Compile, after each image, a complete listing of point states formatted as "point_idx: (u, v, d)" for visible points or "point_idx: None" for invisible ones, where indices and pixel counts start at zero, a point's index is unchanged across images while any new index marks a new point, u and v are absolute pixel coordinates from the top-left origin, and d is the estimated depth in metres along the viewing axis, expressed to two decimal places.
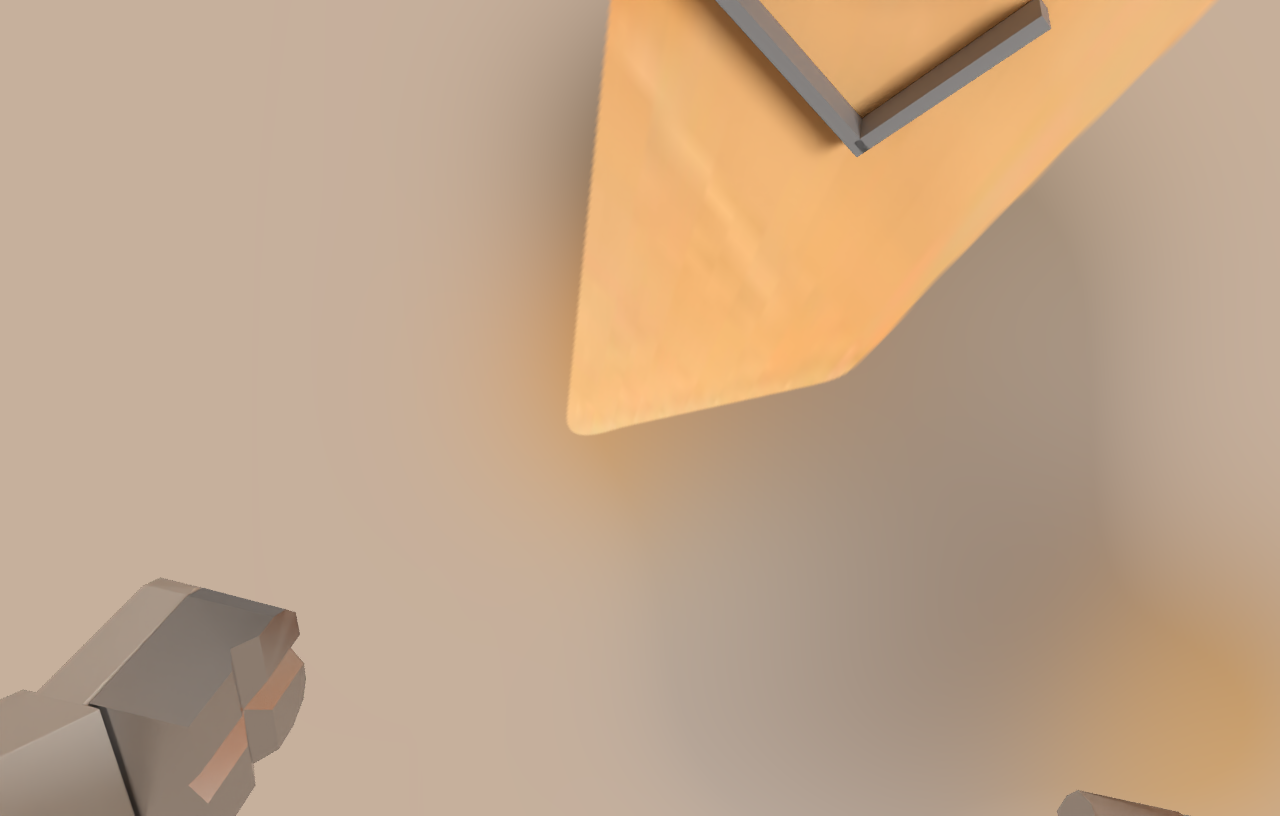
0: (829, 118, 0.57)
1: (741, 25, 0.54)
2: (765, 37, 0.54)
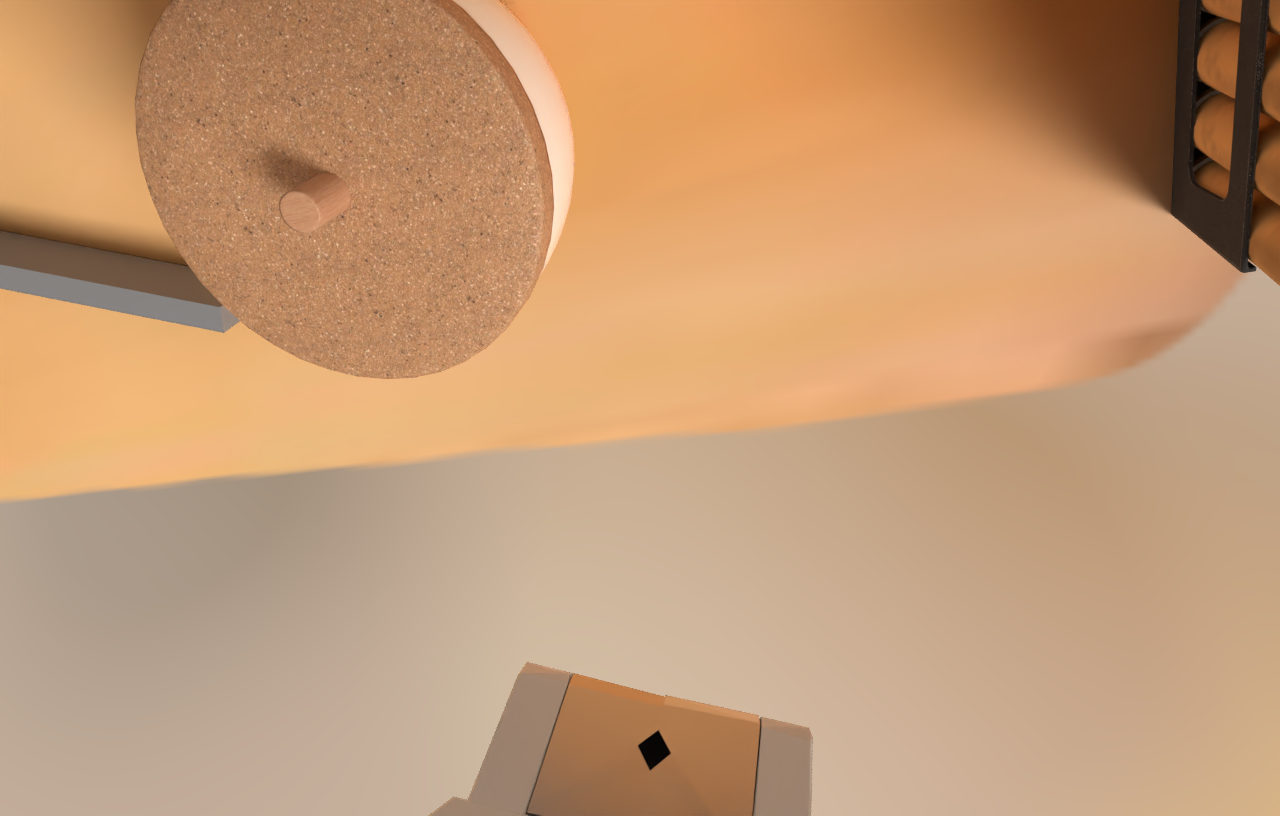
0: None
1: None
2: None
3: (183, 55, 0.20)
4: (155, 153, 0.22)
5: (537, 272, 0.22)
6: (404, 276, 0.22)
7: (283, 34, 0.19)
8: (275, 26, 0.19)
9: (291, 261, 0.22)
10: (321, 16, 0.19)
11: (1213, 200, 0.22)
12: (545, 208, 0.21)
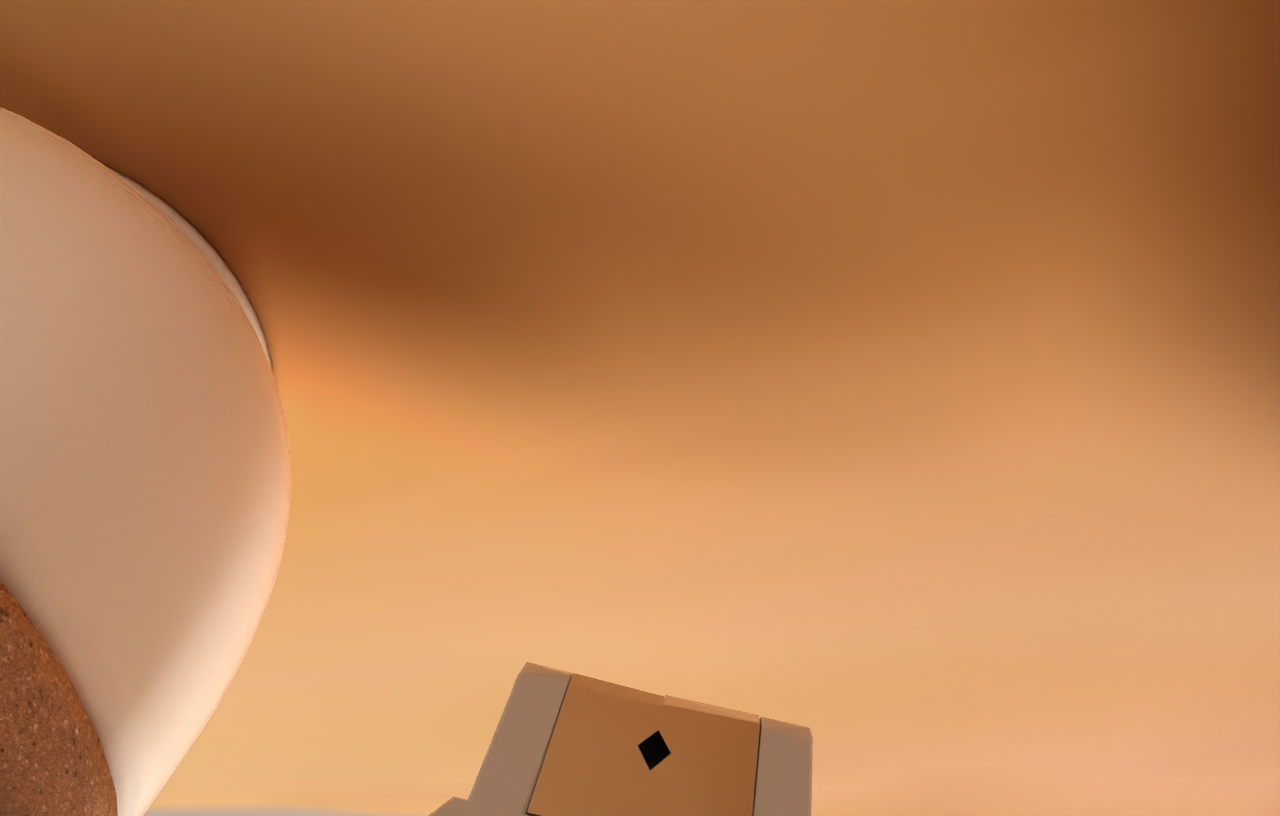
0: None
1: None
2: None
3: None
4: None
5: None
6: None
7: None
8: None
9: None
10: None
11: None
12: (29, 795, 0.07)
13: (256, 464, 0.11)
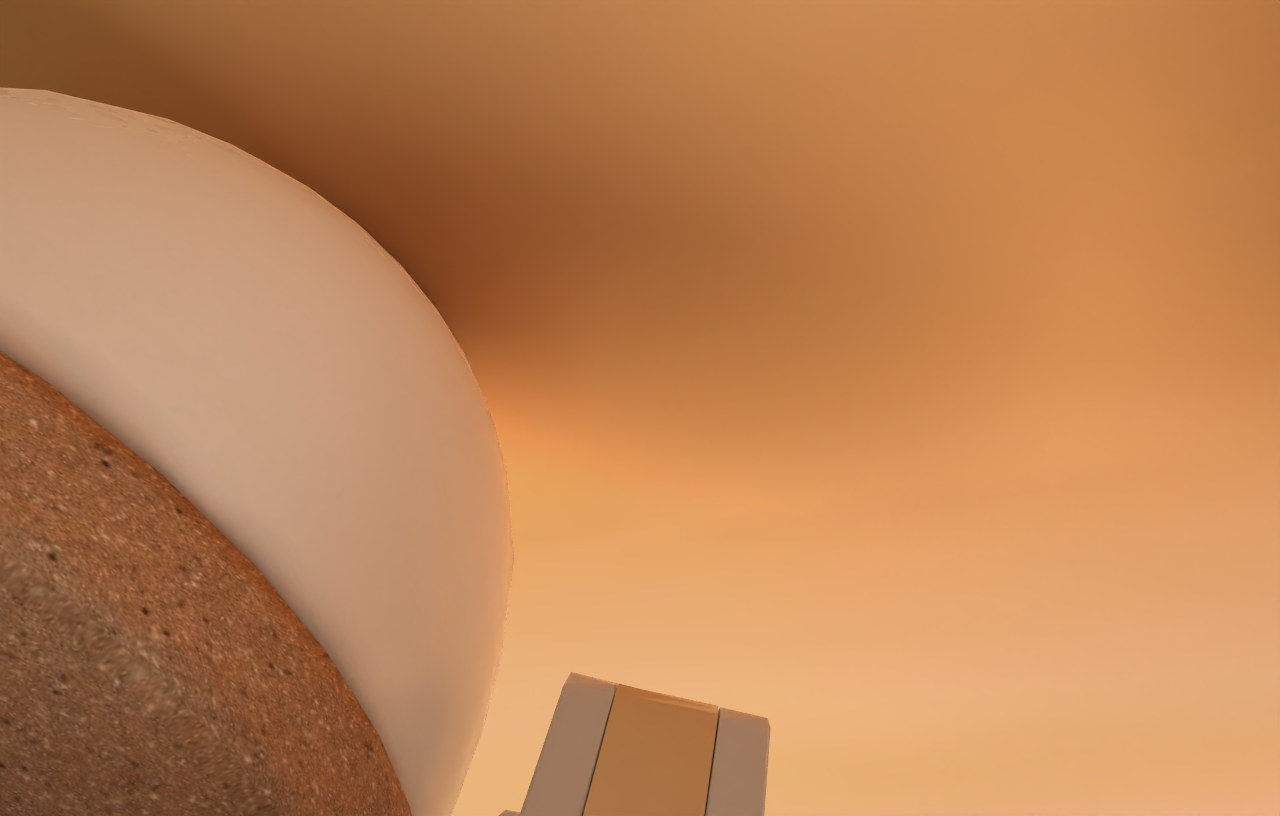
0: None
1: None
2: None
3: None
4: None
5: None
6: None
7: None
8: None
9: None
10: None
11: None
12: None
13: (507, 538, 0.10)
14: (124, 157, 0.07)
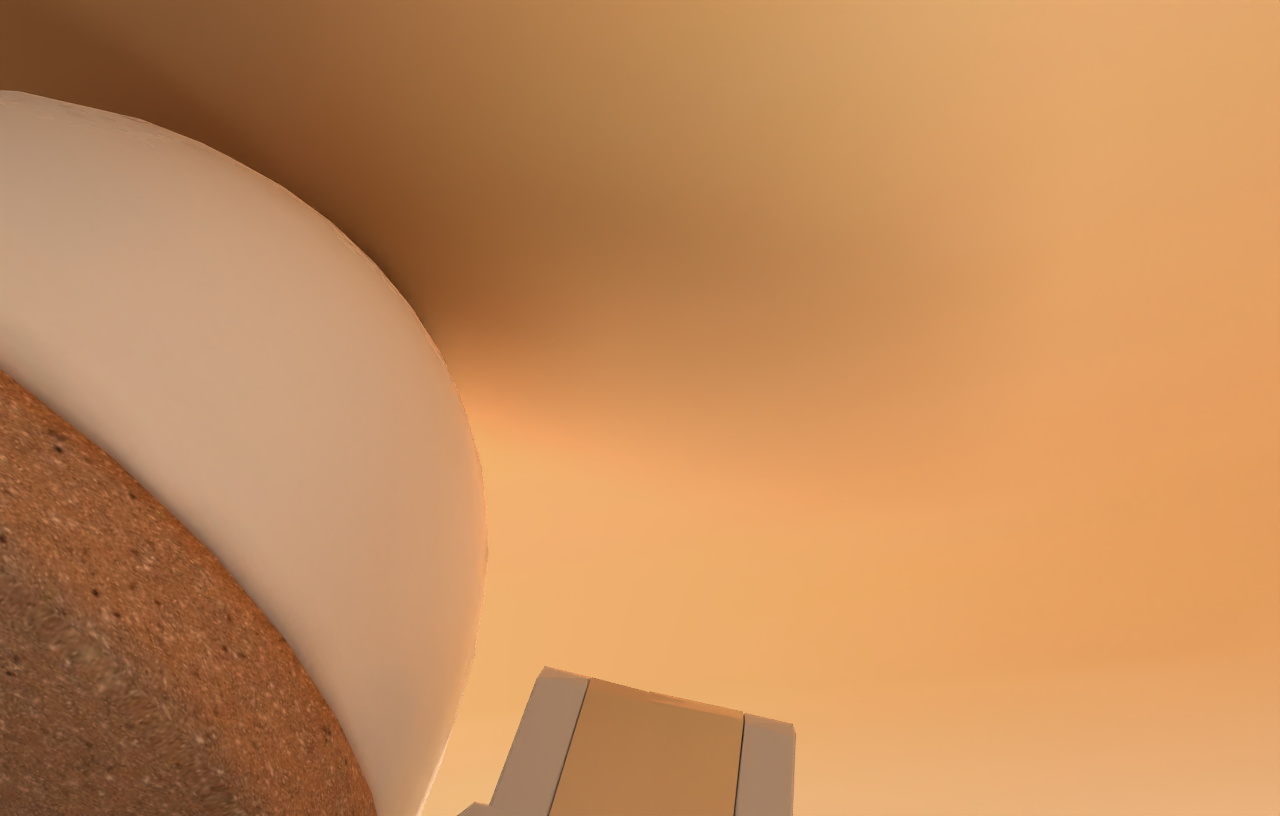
0: None
1: None
2: None
3: None
4: None
5: None
6: None
7: None
8: None
9: None
10: None
11: None
12: None
13: (479, 531, 0.10)
14: (90, 155, 0.07)
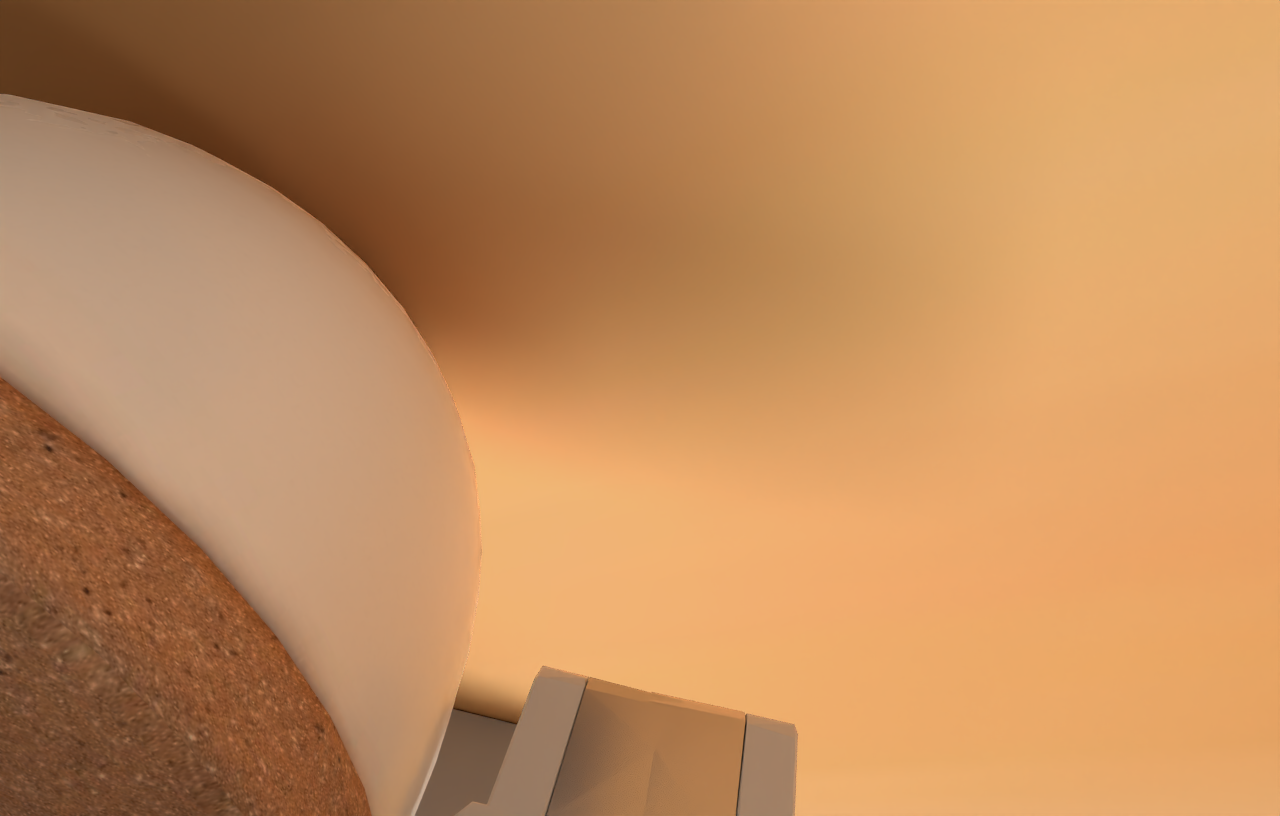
0: None
1: None
2: None
3: None
4: None
5: None
6: None
7: None
8: None
9: None
10: None
11: None
12: None
13: (472, 530, 0.10)
14: (79, 156, 0.07)
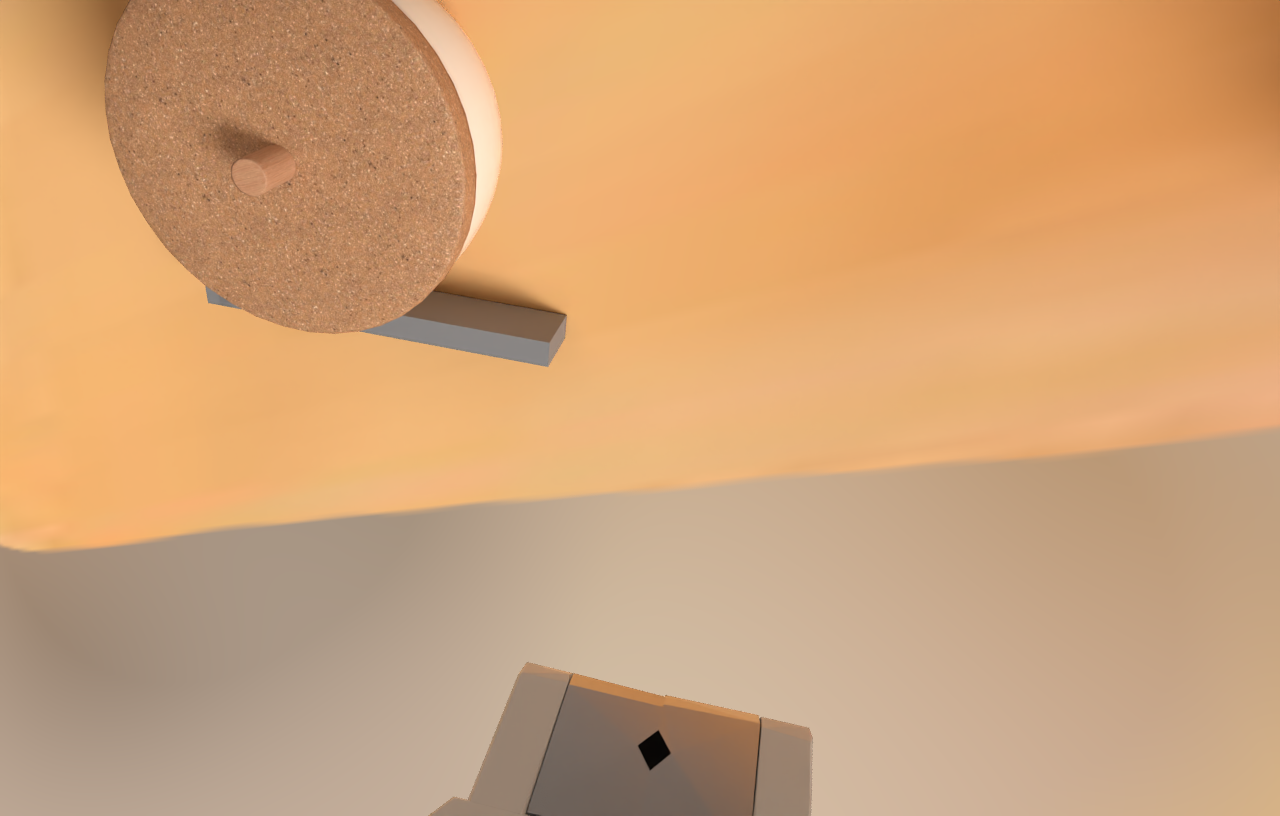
0: None
1: None
2: None
3: (146, 42, 0.23)
4: (123, 129, 0.24)
5: (462, 232, 0.25)
6: (345, 237, 0.25)
7: (233, 22, 0.22)
8: (226, 15, 0.22)
9: (244, 225, 0.25)
10: (265, 6, 0.22)
11: None
12: (467, 174, 0.24)
13: (499, 123, 0.27)
14: None
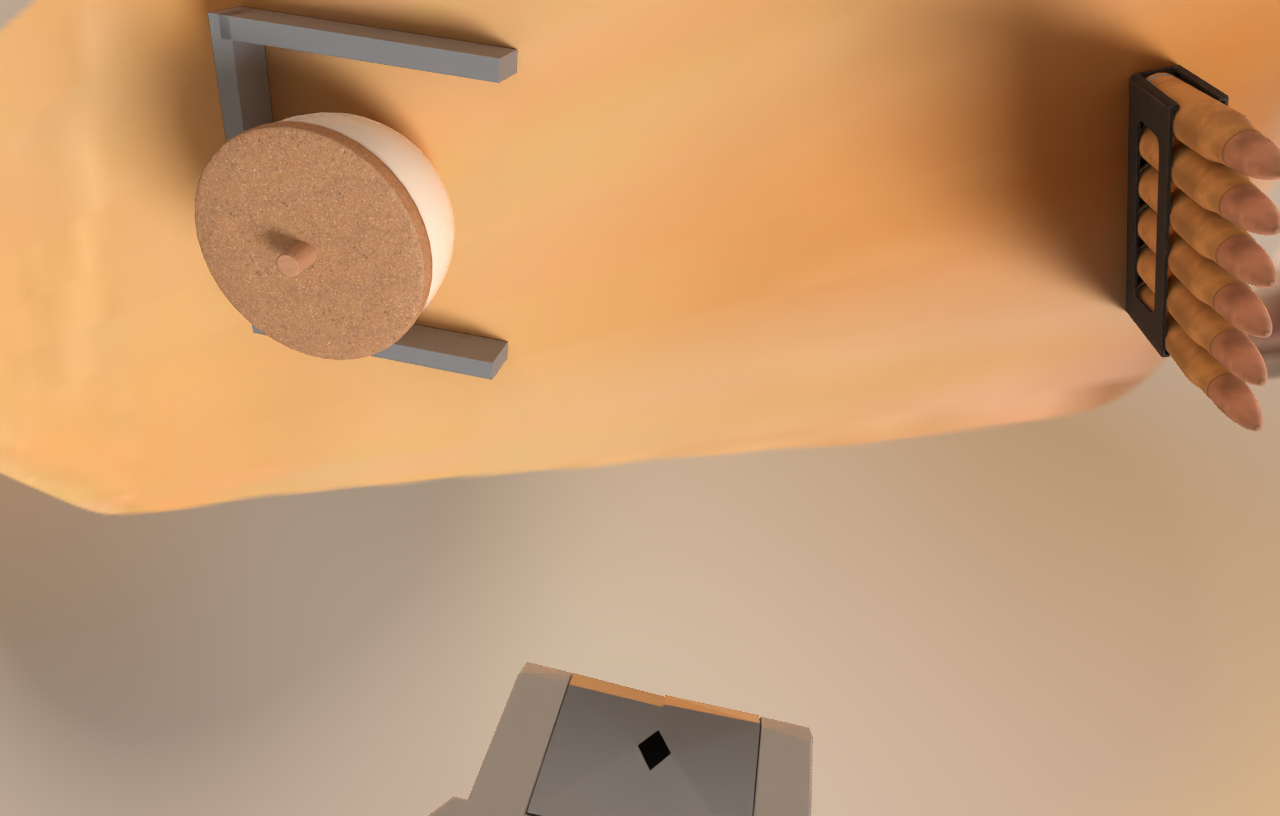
0: None
1: (224, 107, 0.41)
2: None
3: (222, 179, 0.36)
4: (205, 230, 0.38)
5: (423, 297, 0.38)
6: (348, 299, 0.38)
7: (278, 170, 0.36)
8: (273, 165, 0.36)
9: (283, 291, 0.39)
10: (298, 161, 0.35)
11: (1147, 311, 0.37)
12: (425, 262, 0.37)
13: (451, 220, 0.40)
14: (372, 125, 0.38)
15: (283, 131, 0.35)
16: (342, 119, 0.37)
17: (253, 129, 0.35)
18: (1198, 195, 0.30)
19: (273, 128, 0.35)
